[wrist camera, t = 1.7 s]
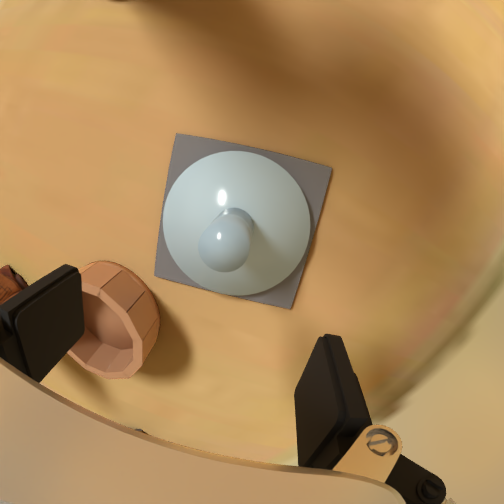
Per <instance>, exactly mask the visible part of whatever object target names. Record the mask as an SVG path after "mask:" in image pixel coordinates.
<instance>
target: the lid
mask: <svg viewBox="0 0 504 504" xmlns="http://www.w3.org/2000/svg"><path fill="white" fill-rule="evenodd" d="M163 231H164V237H165V241H166V244H167V247H168V249H169V252H170V254H171V256H172V258H173V259H174V261H175V262H176V264H177V265H178V266H179V268H180V269H181V270H182V271H183V272H184V273H185V274H186V275H187V276H188V277H189V278H190V279H192V280H193V281H194V282H196V283H197V284H199V285H201V286H202V287H204V288H207V289H209V290H211V291H214V292H217V293H221V294H226V295H237V296H239V295H250V294H255V293H259V292H262V291H265V290H267V289H270V288H272V287H274V286H275V285H277V284H279V283H280V282H282V281H283V280H284V279H285V278H286V277H288V276H289V275H290V274H291V273H292V271H293V270H294V269H295V268H296V267H297V265H298V264H299V262H300V261H301V259H302V257H303V255H304V253H305V250H306V248H307V245H308V240H309V236H310V214H309V209H308V205H307V202H306V199H305V196H304V194H303V192H302V190H301V188H300V187H299V185H298V184H297V183H296V181H295V180H294V179H293V177H292V176H291V175H290V174H289V173H288V172H287V171H286V170H285V169H283V168H282V167H281V166H280V165H278V164H277V163H275V162H274V161H272V160H270V159H268V158H266V157H263V156H261V155H258V154H254V153H251V152H244V151H226V152H219V153H216V154H212V155H209V156H207V157H204V158H202V159H200V160H198V161H197V162H195V163H193V164H192V165H191V166H190V167H188V168H187V169H186V170H185V171H184V172H183V173H182V174H181V175H180V176H179V177H178V179H177V180H176V181H175V183H174V184H173V186H172V188H171V190H170V192H169V194H168V196H167V199H166V202H165V206H164V211H163Z"/></svg>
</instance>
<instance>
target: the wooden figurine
mask: <svg viewBox="0 0 504 504" xmlns="http://www.w3.org/2000/svg"><path fill="white" fill-rule="evenodd" d="M27 287H28V286H27V284H26V282H25V281H24V280H23V279H22V278H21V276H20V275H19V274H16V275H14V274H13V273H12V271H11V269H10V267H9V265H6V266H4V267H2V268H1V269H0V305H1V304H3V303H4V302H6V301H7V300H9V299H10V298H12V297H13V296H15V295H16V294H18V293H19V292H21V291H22V290H24V289H25V288H27Z"/></svg>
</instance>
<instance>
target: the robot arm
mask: <svg viewBox="0 0 504 504" xmlns="http://www.w3.org/2000/svg"><path fill="white" fill-rule="evenodd" d="M84 331H85V324H84V313H83V299H82V277H81V274H80V273H79V270H78V269H77V268H76V267H73V266H70V265H67V264H65V265H63V266H61V267H59V268H57V269H56V270H54V271H52V272H51V273H49V274H48V275H46V276H44V277H43V278H41V279H39V280H38V281H36V282H35V283H33V284H31V285H30V286H28V287H27V288H25V289H24V290H22V291H21V292H19V293H18V294H16V295H15V296H13V297H12V298H10V299H9V300H7V301H6V302H4V303H3V304H1V305H0V504H456V503H455V502H454V501H453V500H452V499H451V498H450V499H448V500H447V499H446V498H445V496H446V488H445V485H444V483H443V481H442V480H441V479H440V478H439V477H437V476H436V475H434V474H433V473H431V472H429V471H428V470H425V469H424V468H422V467H421V466H419V465H417V464H416V463H414V462H413V461H411V460H409V459H408V458H406V457H405V456H403V455H402V454H400V453H401V450H402V441H401V439H400V437H399V436H398V434H397V433H396V432H395V431H393V430H392V429H390V428H389V427H386V426H384V425H372V421H371V418H370V415H369V412H368V409H367V406H366V402H365V399H364V396H363V393H362V390H361V387H360V384H359V381H358V378H357V376H356V374H355V373H354V372H353V369H352V366H351V363H350V360H349V358H348V355H347V352H346V349H345V346H344V343H343V340H342V338H341V336H337V335H331V334H325V335H324V336H323V337H319V338H318V340H317V342H316V344H315V347H314V349H313V351H312V354H311V356H310V358H309V360H308V363H307V365H306V367H305V369H304V372H303V374H302V376H301V378H300V380H299V382H298V384H297V386H296V389H295V394H294V399H295V414H296V431H297V449H298V465H299V466H288V465H279V464H271V463H264V462H257V461H251V460H245V459H239V458H234V457H229V456H224V455H219V454H214V453H210V452H206V451H201V450H197V449H193V448H190V447H186V446H182V445H179V444H175V443H172V442H169V441H166V440H162V439H159V438H156V437H153V436H150V435H148V434H145V433H142V432H139V431H136V430H134V429H131V428H129V427H126V426H123V425H121V424H119V423H116V422H114V421H111V420H109V419H107V418H104V417H102V416H100V415H98V414H96V413H93V412H91V411H89V410H87V409H85V408H83V407H81V406H79V405H77V404H75V403H73V402H71V401H69V400H67V399H66V398H64V397H62V396H60V395H58V394H56V393H55V392H53V391H51V390H49V389H48V388H46V387H44V386H43V385H41V384H39V383H40V382H41V381H42V380H43V378H44V377H45V376H46V375H47V374H48V373H49V372H50V371H51V369H52V368H53V367H54V366H55V365H56V364H57V363H58V362H59V361H60V359H61V358H62V357H63V356H64V355H65V354H66V353H67V352H68V351H69V350H70V349H71V348H72V347H73V345H74V344H75V343H76V342H77V341H78V340H79V339H80V338H81V337H82V336H83V334H84Z"/></svg>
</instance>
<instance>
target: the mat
mask: <svg viewBox="0 0 504 504" xmlns="http://www.w3.org/2000/svg"><path fill="white" fill-rule="evenodd" d="M226 151H244V152H251V153H254V154H258V155H261V156H263V157H266V158H268V159H270V160H272V161H274V162H275V163H277V164H278V165H280V166H281V167H282V168H283V169H285V170H286V171H287V172H288V173H289V174H290V175H291V176H292V177H293V179H294V180H295V181H296V183H297V184H298V185H299V187H300V188H301V190H302V192H303V194H304V196H305V199H306V202H307V205H308V209H309V214H310V236H309V240H308V245H307V248H306V250H305V253H304V255H303V257H302V259H301V261H300V262H299V264H298V265H297V267H296V268H295V269H294V270H293V271H292V273H291V274H290V275H289V276H288V277H286V278H285V279H284V280H283V281H282V282H280V283H279V284H277V285H275V286H274V287H272V288H270V289H267V290H265V291H262V292H259V293H255V294H250V295H239V296H237V295H230V296H234V297H238V298H243V299H247V300H251V301H256V302H260V303H264V304H269V305H273V306H278V307H283V308H287V309H291V306H292V303H293V300H294V297H295V294H296V291H297V288H298V284H299V281H300V278H301V275H302V272H303V269H304V265H305V262H306V259H307V256H308V252H309V249H310V246H311V243H312V239H313V236H314V232H315V229H316V225H317V222H318V218H319V215H320V211H321V208H322V204H323V201H324V197H325V193H326V190H327V186H328V182H329V178H330V174H331V170H332V168H331V167H327V166H324V165H321V164H317V163H314V162H310V161H306V160H303V159H299V158H295V157H291V156H288V155H284V154H280V153H276V152H271V151H267V150H263V149H258V148H254V147H249V146H245V145H240V144H235V143H230V142H225V141H220V140H214V139H209V138H203V137H197V136H191V135H184V134H177V133H176V136H175V141H174V146H173V151H172V156H171V161H170V166H169V171H168V177H167V182H166V188H165V194H164V201H163V207H162V214H161V221H160V228H159V236H158V244H157V253H156V262H155V272H154V276H156V277H160V278H164V279H167V280H171V281H175V282H179V283H182V284H186V285H190V286H194V287H198V288H202V289H206V290H209V289H207V288H204V287H202V286H201V285H199V284H197V283H196V282H194V281H193V280H192V279H190V278H189V277H188V276H187V275H186V274H185V273H184V272H183V271H182V270H181V269H180V268H179V266H178V265H177V264H176V262H175V261H174V259H173V258H172V256H171V254H170V252H169V249H168V247H167V244H166V241H165V237H164V231H163V211H164V206H165V202H166V199H167V196H168V194H169V192H170V190H171V188H172V186H173V184H174V183H175V181H176V180H177V179H178V177H179V176H180V175H181V174H182V173H183V172H184V171H185V170H186V169H187V168H188V167H190V166H191V165H192V164H193V163H195V162H197V161H198V160H200V159H202V158H204V157H207V156H209V155H212V154H216V153H219V152H226ZM210 291H211V290H210Z"/></svg>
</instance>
